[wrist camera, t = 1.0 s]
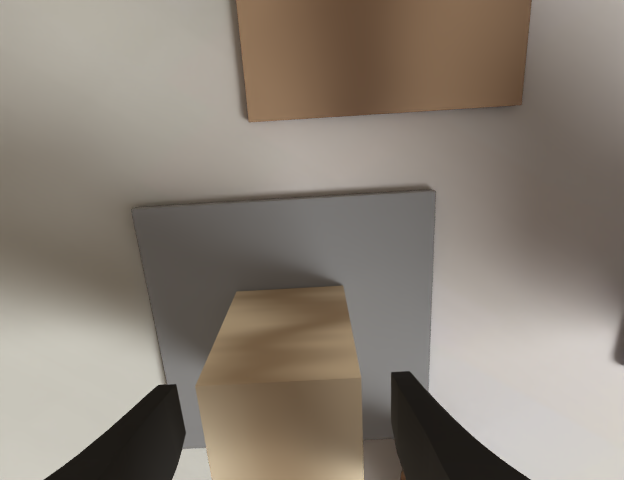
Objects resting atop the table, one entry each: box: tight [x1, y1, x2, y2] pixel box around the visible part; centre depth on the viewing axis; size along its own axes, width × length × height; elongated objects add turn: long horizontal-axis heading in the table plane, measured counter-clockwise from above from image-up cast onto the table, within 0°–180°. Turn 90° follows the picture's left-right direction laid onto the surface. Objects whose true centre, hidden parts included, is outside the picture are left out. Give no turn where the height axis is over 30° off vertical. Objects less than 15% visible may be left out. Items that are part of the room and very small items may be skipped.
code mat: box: [131, 190, 436, 449], centre depth 17 cm, size 12×12×1 cm
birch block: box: [195, 286, 364, 480], centre depth 14 cm, size 4×4×6 cm
